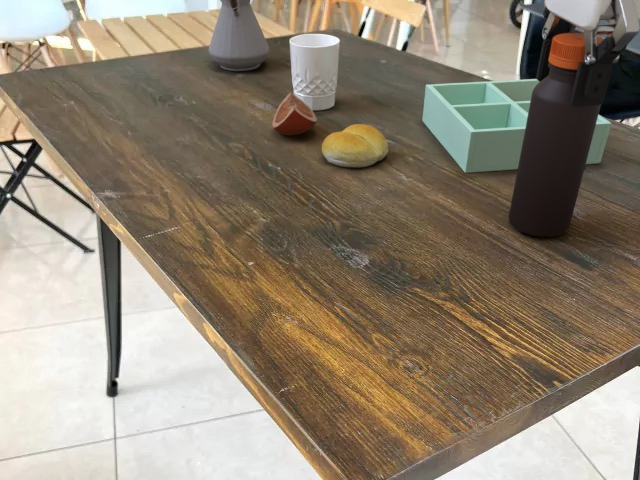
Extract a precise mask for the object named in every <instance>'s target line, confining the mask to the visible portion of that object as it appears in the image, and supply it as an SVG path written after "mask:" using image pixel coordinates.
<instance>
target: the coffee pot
mask: <svg viewBox="0 0 640 480" xmlns="http://www.w3.org/2000/svg"><path fill="white" fill-rule="evenodd" d="M219 1H220V2H221V6H220V10H219V14H218V17H217V20H216V24H215V26H214V30H213V33H212V36H211V39H210V43H209V47H208V54H209V56H210V57H211V59H212V60H213V61H214V62H215V64H218V65H219V67H220V68H221V69H223V70H227V71H234V72H242V71H243V72H245V71H251V70H255V69H258V68H259V67H260V66H261V64H262V63H263V62H265V61H266V59H268V56H269V53H270V50H271V48H270V46H269V44H268V41H267V39H266V37H265V35H264V32H263V30H262V28H261V26H260V23H259V22H258V19H257V17H256V14H255V12H254V10H253V7H252V5H251V0H219Z"/></svg>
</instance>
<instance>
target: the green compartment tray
mask: <svg viewBox="0 0 640 480" xmlns="http://www.w3.org/2000/svg"><path fill="white" fill-rule="evenodd" d="M539 82H540V81H538V80H537V79H536V78H530V79H529V78H527V79H509V80H508V79H507V80H489V81H471V82H470V81H469V82H453V83H452V82H450V83H433V84H425V91H424V101H423V110H422V120H421V121H422V122H423V124H424V126H426V127H427V129H428V130H429V131H430V132H431V133H432V135H434V137H435V138H436V139H437V141H438V142H439V143H440V144H441V146H442V147H443V148H444V149H445V150H446V151H447V153H448V154H449V155H450V157H451V158H452V159H453V160H454V161H455V162H456V164H457V165H458V166H459V167H460V169H461V170H462V171H463V172H464V173H465V174H469V173H470V174H471V173H481V172H482V173H484V172H498V171H511V170H518V165H519V160H520V154H521V149H522V144H523V139H524V133H525V128H526V123H527V118H528V112H529V107H530V102H531V96H532V92H533V90H534V88H535V86H536V85H537V84H538V83H539ZM612 124H613V123H612V122H610V121H609V120H608V119H607V118H605V117H603V116H602V115H600V113H599V114H598V118H597V122H596V126H595V130H594V134H593V138H592V142H591V145H590V149H589V153H588V157H587V161H586V165H593V164H601V162H602V159H603V155H604V152H605V148H606V146H607V141H608V138H609V134H610V130H611V128H612Z"/></svg>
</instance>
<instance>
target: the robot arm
mask: <svg viewBox="0 0 640 480" xmlns="http://www.w3.org/2000/svg"><path fill="white" fill-rule="evenodd" d="M542 2H543V8H544V10H543V12H542V16H543V21H544V25H543V28H542V31H541V37H542V39H543V40H542V45H541V48H540V49H541V50H540V54H539V59H538V64H537V70H536V76H535V79H537V80H538V81H540V82H541V81H542V80H543V79H544V78H546V77H547V76H548V75H549V72H550V68H549V67H548V64H549V61H548V60H549V55H550V50H551V45H552V40H553V37H554V36H556V35H558V34H563V33H575V30H576V28H579V29H581V30H583V31H584V33H583V34H584V60H585V62H579V65H578V69H577V73H576V78H575V82H574V87H573V91H572V96H571V100H570V103H571V105H573V106H574V107H578V106H592V105H601V106H602V104H603V103H604V102H605V98H606V95H607V91H608V88H609V87H608V86H609V83H610V79H611V75H612V73H613V72H612V71H613V68H614V64H616V63H618V61H619V60H620V55H621V54H622V53H623V52H624V51H626V49H627V47H628V45H629V44H630V43H631V42H632V40H634V38H635V37H636V36H638V34H639V33H640V0H543V1H542ZM600 21H605V22H607V23H608V24H600ZM600 35H603V36H604V35H606V37H604V38H603V39H604V40H603V41H602V42H601V43H600V44H599V45H598V46H597V36H600Z"/></svg>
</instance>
